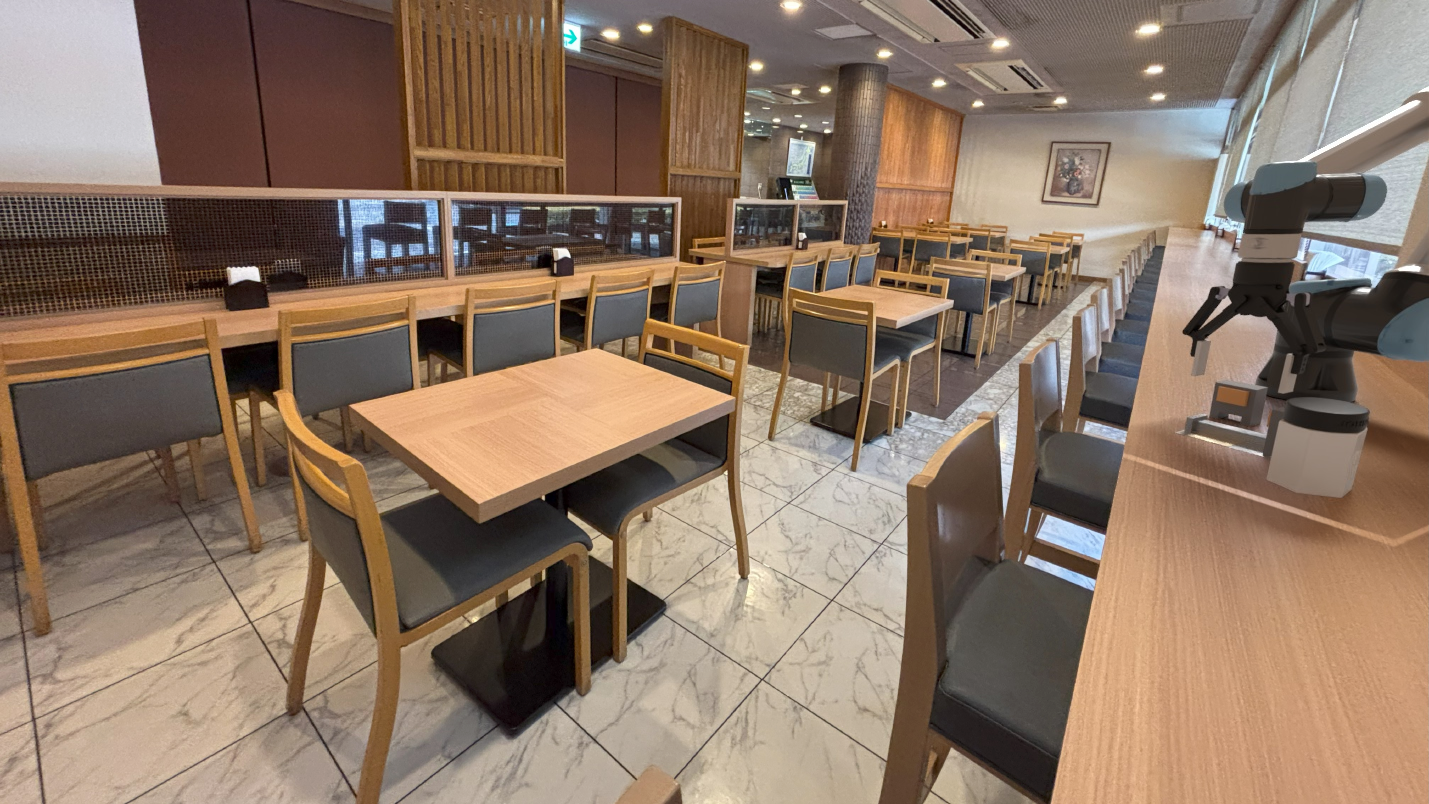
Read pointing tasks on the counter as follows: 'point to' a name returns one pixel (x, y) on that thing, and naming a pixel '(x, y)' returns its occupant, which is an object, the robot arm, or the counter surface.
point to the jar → (1318, 446)
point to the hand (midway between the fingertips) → (1239, 383)
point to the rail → (1224, 435)
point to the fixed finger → (1272, 429)
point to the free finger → (1238, 401)
